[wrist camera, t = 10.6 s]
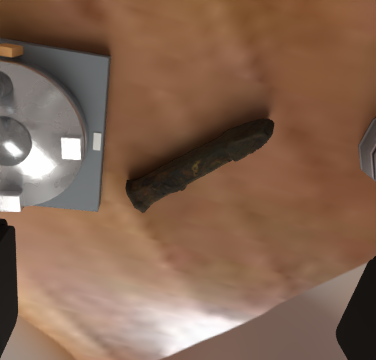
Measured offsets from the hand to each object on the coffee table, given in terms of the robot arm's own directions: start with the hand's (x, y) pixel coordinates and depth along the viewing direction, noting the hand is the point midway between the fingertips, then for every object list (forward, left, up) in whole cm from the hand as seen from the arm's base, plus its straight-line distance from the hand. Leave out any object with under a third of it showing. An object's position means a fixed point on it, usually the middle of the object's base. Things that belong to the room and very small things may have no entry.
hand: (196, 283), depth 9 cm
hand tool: (+8, +5, -33) cm, 34 cm away
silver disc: (+7, -15, -30) cm, 34 cm away
